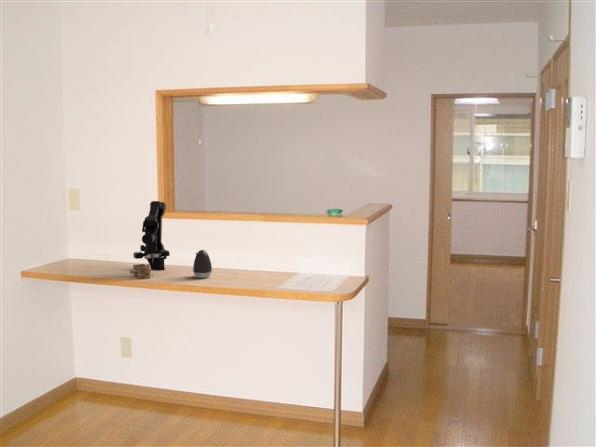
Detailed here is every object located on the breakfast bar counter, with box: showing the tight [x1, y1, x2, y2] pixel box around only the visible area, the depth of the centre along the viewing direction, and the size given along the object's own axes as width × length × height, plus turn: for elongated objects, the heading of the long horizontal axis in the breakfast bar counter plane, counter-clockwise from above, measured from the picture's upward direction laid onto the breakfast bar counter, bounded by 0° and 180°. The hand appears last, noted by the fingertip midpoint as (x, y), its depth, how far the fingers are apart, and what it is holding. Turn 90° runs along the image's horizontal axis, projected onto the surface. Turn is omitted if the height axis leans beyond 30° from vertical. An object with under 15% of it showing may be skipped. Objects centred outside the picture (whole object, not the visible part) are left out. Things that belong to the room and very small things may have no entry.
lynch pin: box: [129, 263, 150, 275], centre depth 335 cm, size 10×5×6 cm, turn 118°
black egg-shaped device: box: [192, 249, 213, 279], centre depth 333 cm, size 10×10×15 cm
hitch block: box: [132, 263, 151, 280], centre depth 335 cm, size 6×12×6 cm, turn 28°
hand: (152, 269), depth 338 cm, fingers closed
